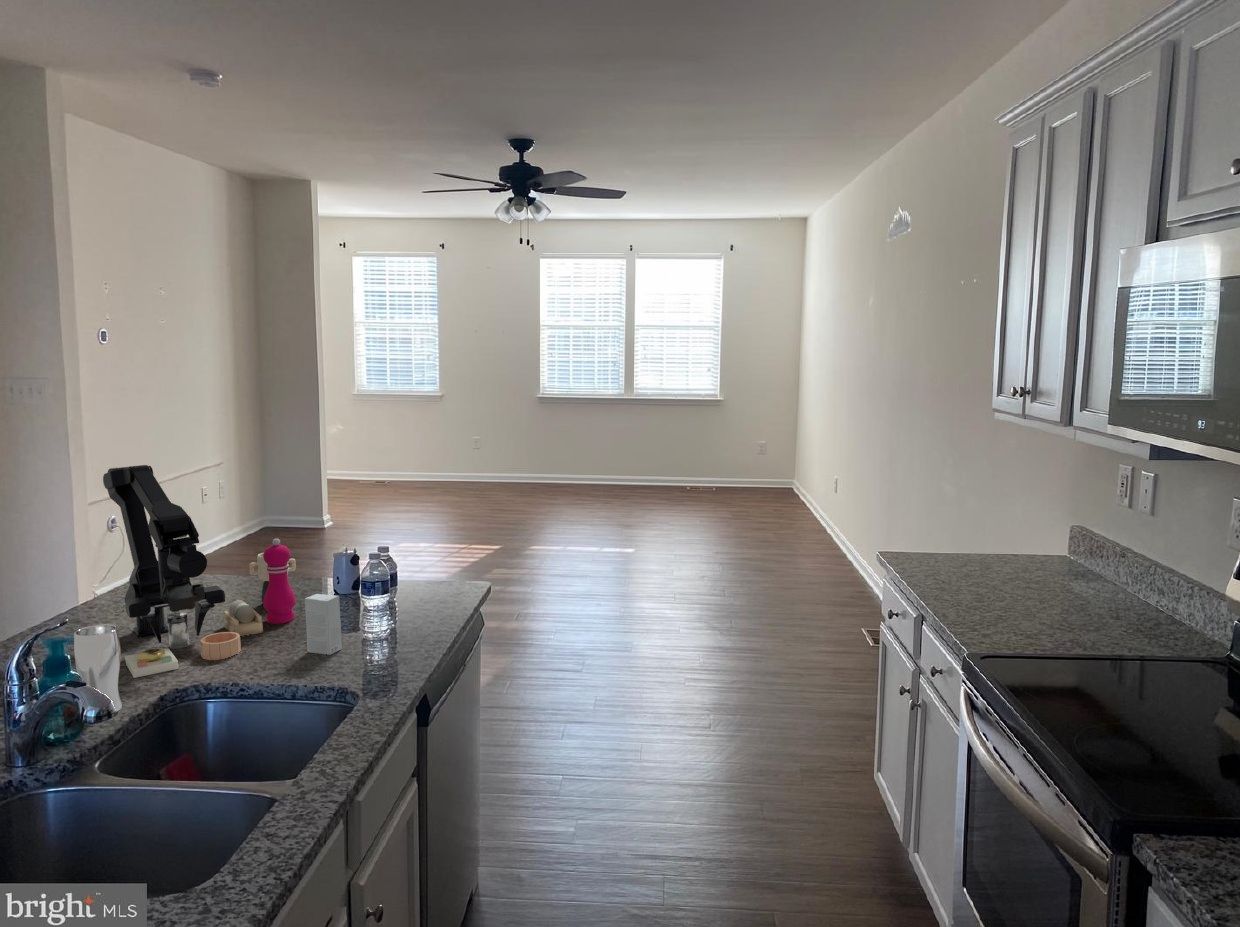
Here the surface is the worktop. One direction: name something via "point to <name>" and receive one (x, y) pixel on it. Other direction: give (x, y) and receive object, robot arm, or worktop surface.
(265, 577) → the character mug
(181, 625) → the glass salt shaker
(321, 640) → the skincare box
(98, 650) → the beer glass
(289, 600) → the pepper mill
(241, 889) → the worktop surface
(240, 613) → the trough rack
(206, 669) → the worktop surface
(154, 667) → the white decorated slab
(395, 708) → the worktop surface
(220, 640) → the peach faceted bowl
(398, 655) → the worktop surface
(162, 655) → the gold disc
